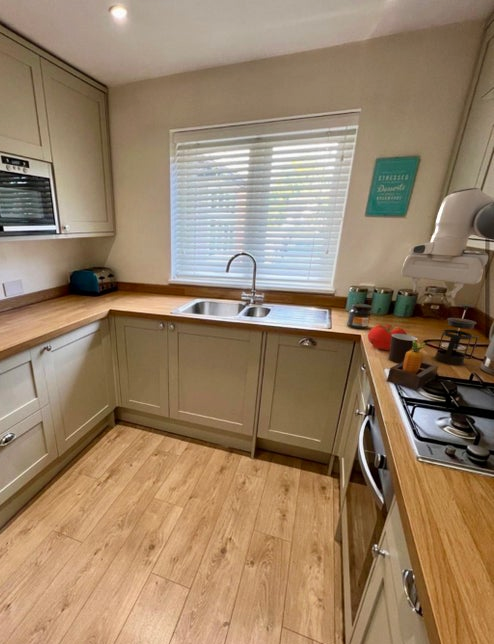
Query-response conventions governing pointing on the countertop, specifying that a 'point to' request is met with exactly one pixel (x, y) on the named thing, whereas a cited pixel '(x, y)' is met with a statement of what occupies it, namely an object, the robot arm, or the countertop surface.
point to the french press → (456, 341)
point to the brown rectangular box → (412, 376)
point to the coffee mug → (400, 346)
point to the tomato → (383, 336)
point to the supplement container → (359, 316)
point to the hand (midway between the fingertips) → (432, 294)
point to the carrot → (413, 359)
